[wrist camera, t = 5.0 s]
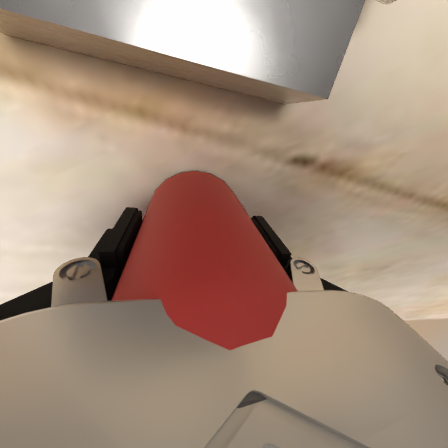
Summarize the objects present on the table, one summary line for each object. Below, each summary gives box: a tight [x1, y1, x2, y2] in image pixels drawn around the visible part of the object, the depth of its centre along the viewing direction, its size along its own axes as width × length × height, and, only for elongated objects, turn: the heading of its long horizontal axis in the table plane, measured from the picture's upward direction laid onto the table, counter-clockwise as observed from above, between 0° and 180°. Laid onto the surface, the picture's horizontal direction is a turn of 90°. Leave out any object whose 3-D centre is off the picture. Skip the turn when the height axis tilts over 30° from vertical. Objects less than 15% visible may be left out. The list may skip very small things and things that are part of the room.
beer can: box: [111, 171, 298, 408], centre depth 9 cm, size 7×7×12 cm
